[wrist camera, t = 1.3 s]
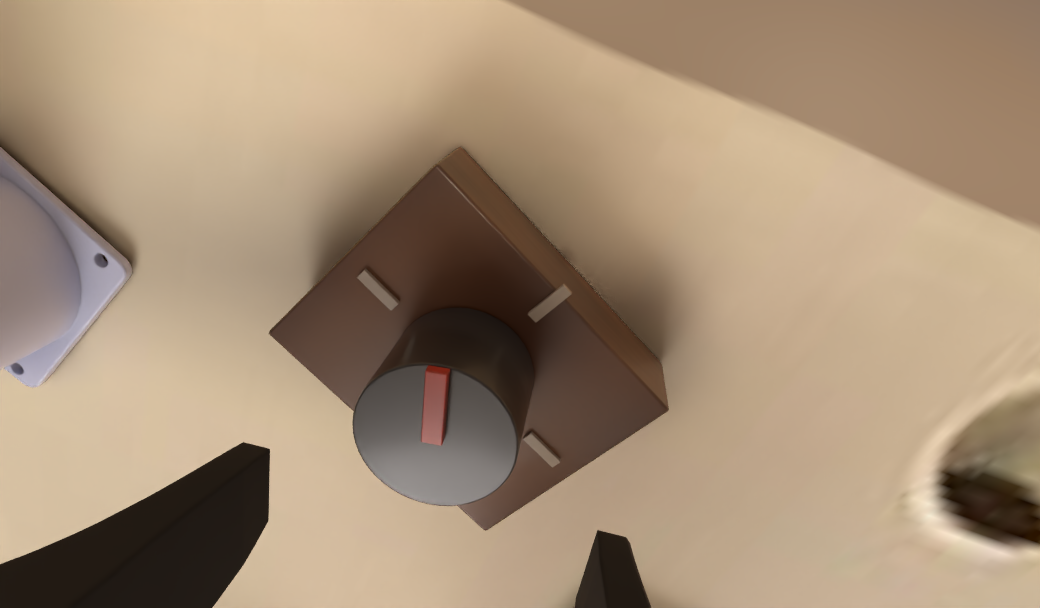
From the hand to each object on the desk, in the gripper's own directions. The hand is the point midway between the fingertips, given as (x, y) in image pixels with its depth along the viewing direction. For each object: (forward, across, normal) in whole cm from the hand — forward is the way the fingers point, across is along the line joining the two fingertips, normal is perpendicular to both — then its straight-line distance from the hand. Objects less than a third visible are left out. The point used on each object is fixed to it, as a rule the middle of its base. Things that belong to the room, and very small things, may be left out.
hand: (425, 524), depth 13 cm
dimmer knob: (+6, +1, 0) cm, 6 cm away
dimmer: (+10, +1, 0) cm, 10 cm away
